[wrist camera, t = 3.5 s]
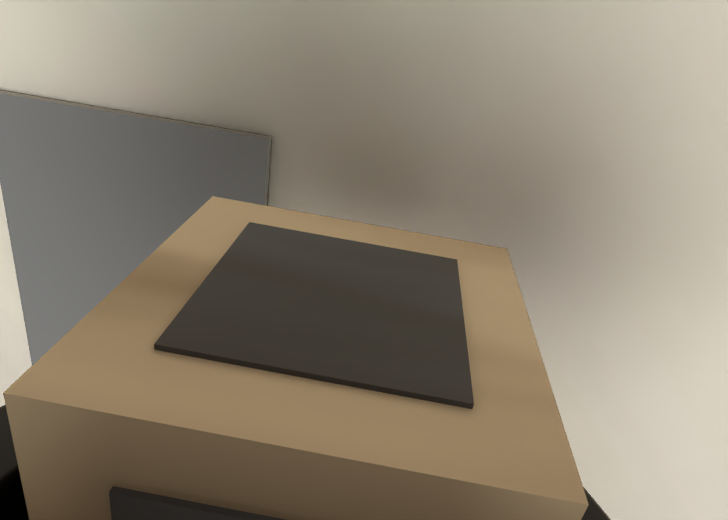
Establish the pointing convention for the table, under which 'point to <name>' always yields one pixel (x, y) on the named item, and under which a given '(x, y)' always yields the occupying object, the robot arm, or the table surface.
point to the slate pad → (105, 197)
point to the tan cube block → (298, 383)
